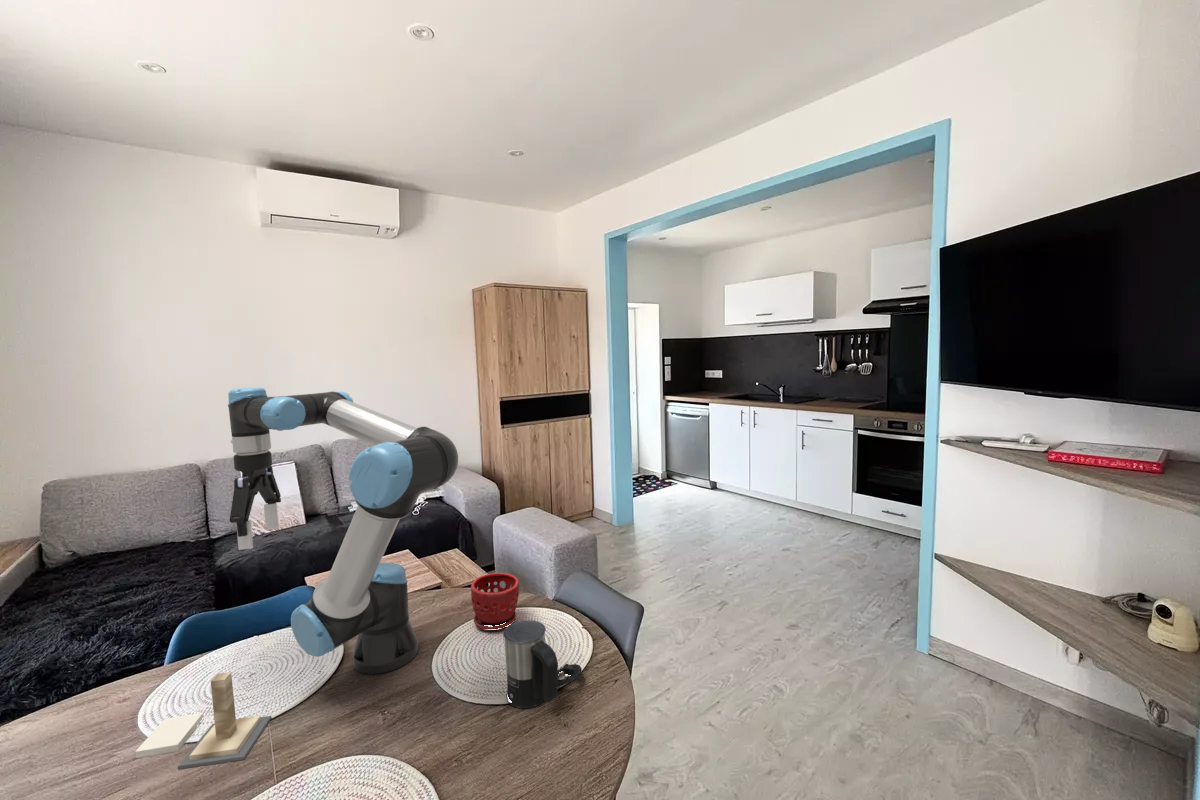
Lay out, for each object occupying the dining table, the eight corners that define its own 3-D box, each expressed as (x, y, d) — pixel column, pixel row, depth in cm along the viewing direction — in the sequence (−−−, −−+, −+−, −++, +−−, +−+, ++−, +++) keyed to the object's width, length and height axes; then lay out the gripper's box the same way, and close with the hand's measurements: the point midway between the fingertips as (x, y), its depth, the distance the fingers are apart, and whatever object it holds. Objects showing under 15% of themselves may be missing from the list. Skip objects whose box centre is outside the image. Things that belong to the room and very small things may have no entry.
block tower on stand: (260, 720, 104) (255, 660, 103) (237, 753, 95) (231, 688, 94) (217, 726, 103) (211, 665, 102) (190, 760, 94) (183, 694, 93)
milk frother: (497, 702, 108) (494, 636, 107) (536, 661, 123) (534, 603, 121) (554, 721, 102) (551, 651, 101) (588, 675, 117) (587, 614, 115)
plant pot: (471, 638, 133) (469, 595, 132) (473, 614, 146) (471, 574, 145) (521, 632, 136) (519, 589, 135) (519, 608, 149) (517, 569, 148)
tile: (203, 712, 106) (177, 744, 97) (204, 720, 106) (178, 753, 97) (164, 718, 104) (134, 751, 95) (165, 726, 104) (135, 760, 96)
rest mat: (271, 718, 105) (271, 715, 105) (244, 759, 95) (243, 756, 94) (212, 726, 103) (212, 723, 103) (178, 769, 93) (177, 766, 93)
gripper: (259, 444, 132) (266, 523, 134) (204, 463, 108) (213, 559, 110) (290, 442, 133) (297, 520, 135) (243, 461, 109) (252, 556, 111)
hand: (259, 538), depth 122 cm, fingers open, 13 cm apart
